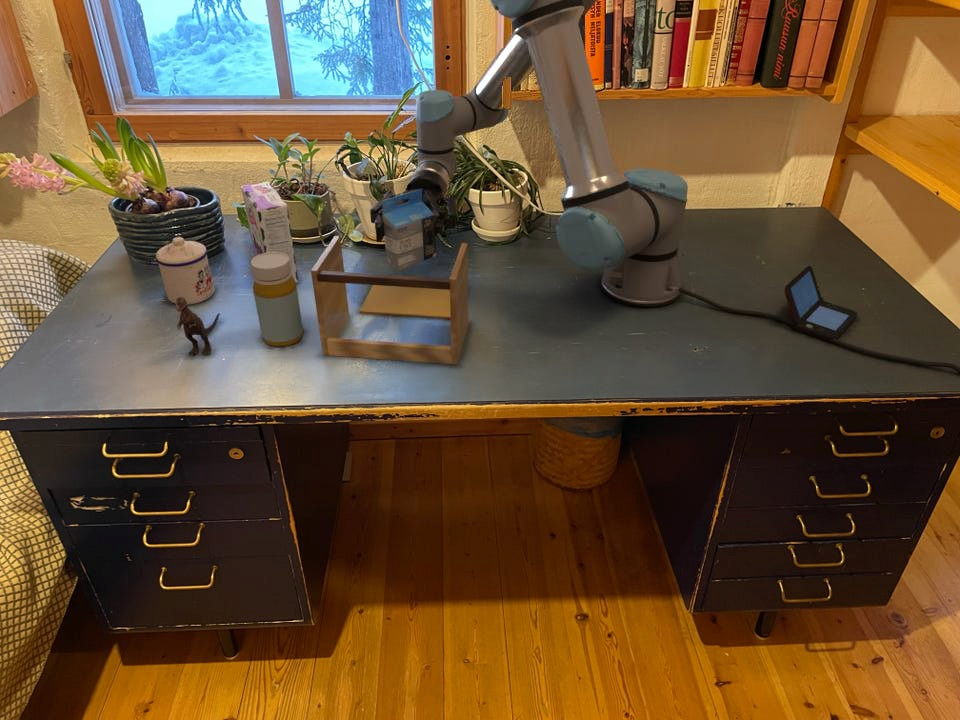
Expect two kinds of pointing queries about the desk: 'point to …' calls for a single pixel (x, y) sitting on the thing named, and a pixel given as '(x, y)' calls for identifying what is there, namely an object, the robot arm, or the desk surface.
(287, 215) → the candy box
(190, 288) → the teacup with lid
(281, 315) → the bottle
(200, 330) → the dinosaur model
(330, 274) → the frame
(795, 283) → the handheld console
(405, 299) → the felt pad
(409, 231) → the label tape box
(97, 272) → the desk surface
